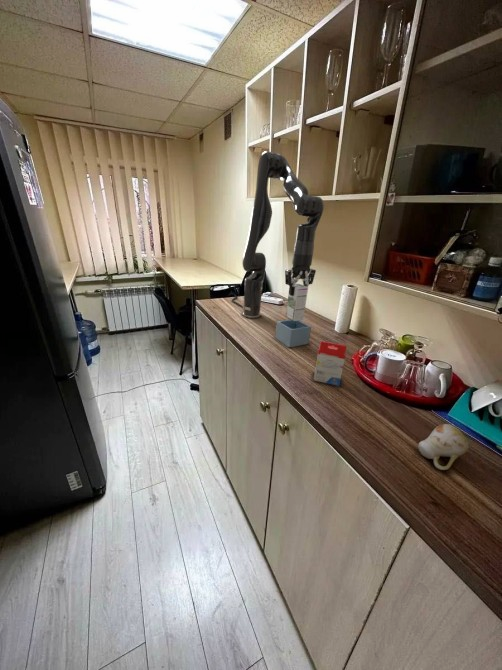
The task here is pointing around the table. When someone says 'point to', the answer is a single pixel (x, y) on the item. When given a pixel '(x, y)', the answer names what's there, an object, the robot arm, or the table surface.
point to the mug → (444, 445)
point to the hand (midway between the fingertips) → (297, 294)
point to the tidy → (293, 333)
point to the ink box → (330, 363)
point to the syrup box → (297, 303)
